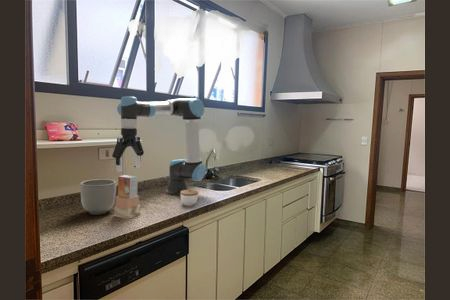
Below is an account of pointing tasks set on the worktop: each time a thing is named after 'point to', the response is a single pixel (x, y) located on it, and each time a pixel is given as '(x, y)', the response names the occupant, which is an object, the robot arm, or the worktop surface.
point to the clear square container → (127, 212)
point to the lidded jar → (189, 197)
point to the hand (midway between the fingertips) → (129, 169)
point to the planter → (98, 195)
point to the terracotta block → (127, 202)
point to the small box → (127, 186)
